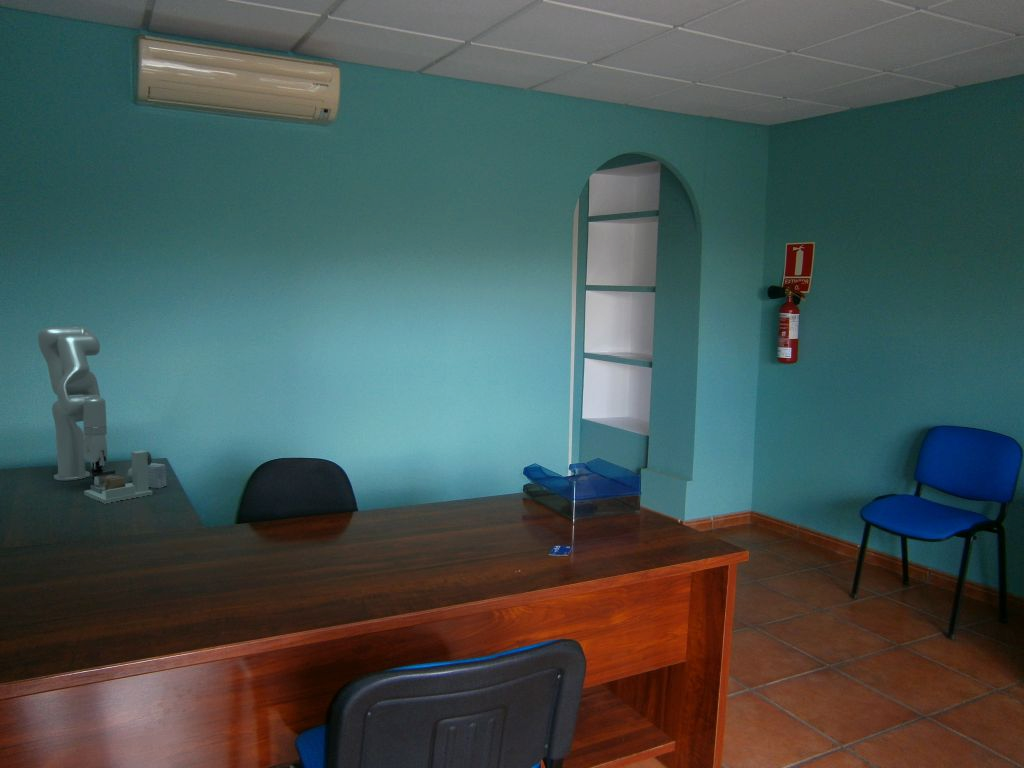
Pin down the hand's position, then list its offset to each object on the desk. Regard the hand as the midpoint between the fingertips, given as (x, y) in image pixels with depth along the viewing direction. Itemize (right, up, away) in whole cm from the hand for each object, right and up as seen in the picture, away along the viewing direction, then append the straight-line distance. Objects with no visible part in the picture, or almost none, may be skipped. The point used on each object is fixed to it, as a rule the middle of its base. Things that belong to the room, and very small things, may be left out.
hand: (97, 479), depth 296 cm
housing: (+12, -4, -10) cm, 16 cm away
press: (+11, -5, -5) cm, 13 cm away
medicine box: (+18, -4, +8) cm, 20 cm away
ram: (+4, -3, -3) cm, 6 cm away
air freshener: (+9, -3, +15) cm, 18 cm away
